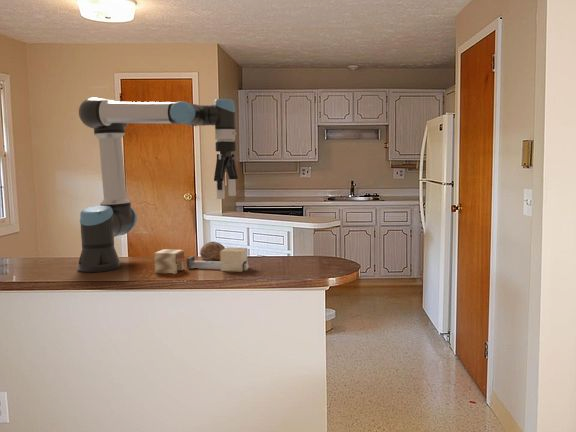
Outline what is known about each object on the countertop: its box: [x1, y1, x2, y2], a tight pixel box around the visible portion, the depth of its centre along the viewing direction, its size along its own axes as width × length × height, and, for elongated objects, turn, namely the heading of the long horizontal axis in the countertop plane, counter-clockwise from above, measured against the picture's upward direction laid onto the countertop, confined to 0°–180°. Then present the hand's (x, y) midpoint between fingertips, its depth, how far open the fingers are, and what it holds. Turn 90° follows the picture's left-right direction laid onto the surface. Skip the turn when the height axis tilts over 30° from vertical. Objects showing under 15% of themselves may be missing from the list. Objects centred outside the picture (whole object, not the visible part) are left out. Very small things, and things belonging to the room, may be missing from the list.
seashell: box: [199, 241, 226, 261], centre depth 213 cm, size 10×9×10 cm
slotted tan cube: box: [153, 248, 185, 275], centre depth 192 cm, size 9×7×8 cm
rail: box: [186, 246, 249, 273], centre depth 196 cm, size 23×7×8 cm, turn 78°
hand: (226, 197), depth 198 cm, fingers open, 13 cm apart
